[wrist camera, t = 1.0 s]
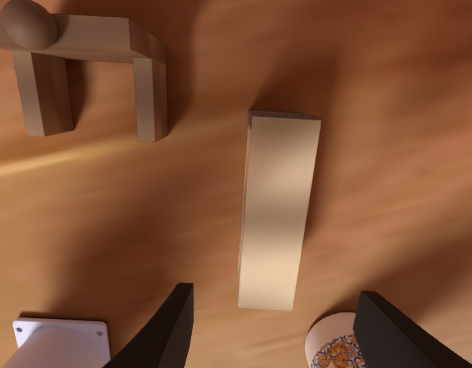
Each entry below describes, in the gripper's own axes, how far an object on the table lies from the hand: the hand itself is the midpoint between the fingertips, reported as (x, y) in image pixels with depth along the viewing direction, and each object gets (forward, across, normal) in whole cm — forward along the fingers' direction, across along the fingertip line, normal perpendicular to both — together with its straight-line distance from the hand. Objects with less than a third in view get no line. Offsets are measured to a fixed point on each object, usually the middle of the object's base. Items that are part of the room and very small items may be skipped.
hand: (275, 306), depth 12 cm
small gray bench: (+9, +10, -8) cm, 16 cm away
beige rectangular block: (+10, 0, -2) cm, 10 cm away
